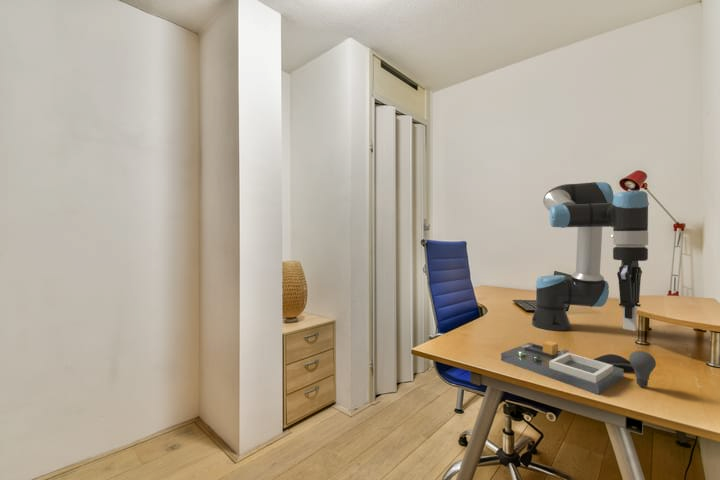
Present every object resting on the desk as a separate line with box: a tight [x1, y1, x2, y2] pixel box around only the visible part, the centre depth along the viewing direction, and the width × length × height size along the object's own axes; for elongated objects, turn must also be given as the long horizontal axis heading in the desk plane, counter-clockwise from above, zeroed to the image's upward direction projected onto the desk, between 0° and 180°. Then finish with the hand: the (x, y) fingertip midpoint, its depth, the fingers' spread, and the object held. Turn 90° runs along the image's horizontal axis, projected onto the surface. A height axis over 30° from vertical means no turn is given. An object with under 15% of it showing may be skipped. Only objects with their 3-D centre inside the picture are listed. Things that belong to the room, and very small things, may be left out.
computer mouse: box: [592, 353, 635, 373], centre depth 101 cm, size 7×12×4 cm, turn 82°
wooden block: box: [542, 340, 559, 355], centre depth 106 cm, size 4×3×4 cm
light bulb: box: [628, 350, 657, 388], centre depth 88 cm, size 6×6×10 cm
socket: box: [549, 352, 613, 383], centre depth 94 cm, size 12×12×2 cm
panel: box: [500, 342, 625, 396], centre depth 101 cm, size 18×28×4 cm, turn 34°
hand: (629, 329), depth 90 cm, fingers closed
